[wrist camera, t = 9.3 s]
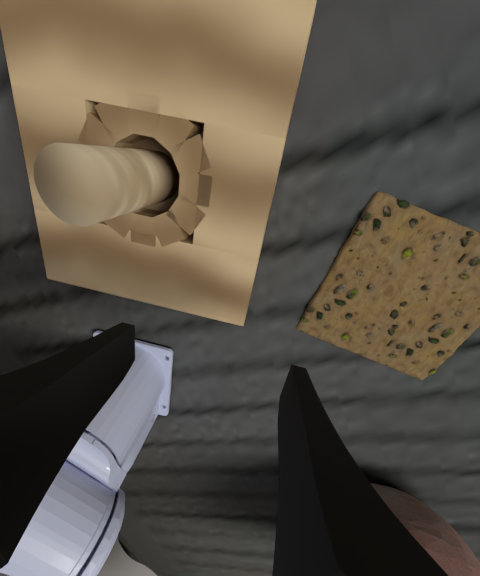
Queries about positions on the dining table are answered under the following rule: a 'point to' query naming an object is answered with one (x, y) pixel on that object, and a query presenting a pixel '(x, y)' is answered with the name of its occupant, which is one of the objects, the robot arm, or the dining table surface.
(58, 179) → the dowel
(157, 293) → the bore board
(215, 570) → the dining table surface
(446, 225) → the cookie
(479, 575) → the ceramic pitcher
